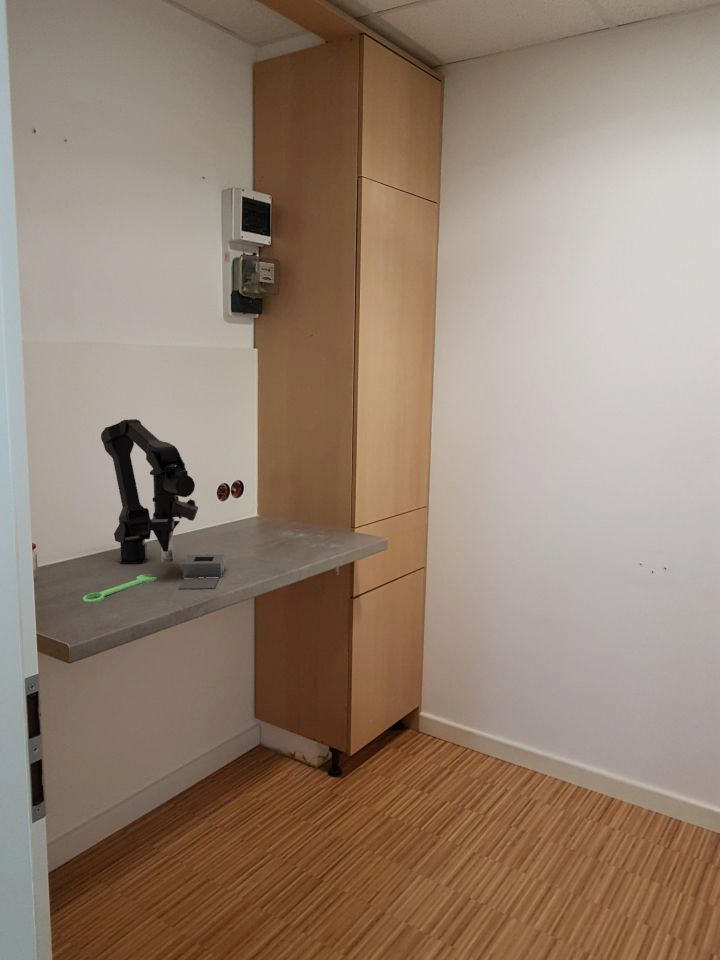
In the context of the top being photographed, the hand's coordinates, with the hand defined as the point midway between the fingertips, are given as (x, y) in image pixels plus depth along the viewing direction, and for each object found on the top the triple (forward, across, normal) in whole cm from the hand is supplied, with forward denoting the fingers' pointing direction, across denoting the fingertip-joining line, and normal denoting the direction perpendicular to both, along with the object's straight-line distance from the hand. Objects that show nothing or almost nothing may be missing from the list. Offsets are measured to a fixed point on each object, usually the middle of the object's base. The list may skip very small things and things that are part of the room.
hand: (166, 549), depth 215 cm
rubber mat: (+6, -12, -10) cm, 17 cm away
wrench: (+7, -15, +9) cm, 19 cm away
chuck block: (+6, -1, -10) cm, 12 cm away
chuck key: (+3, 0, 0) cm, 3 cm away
